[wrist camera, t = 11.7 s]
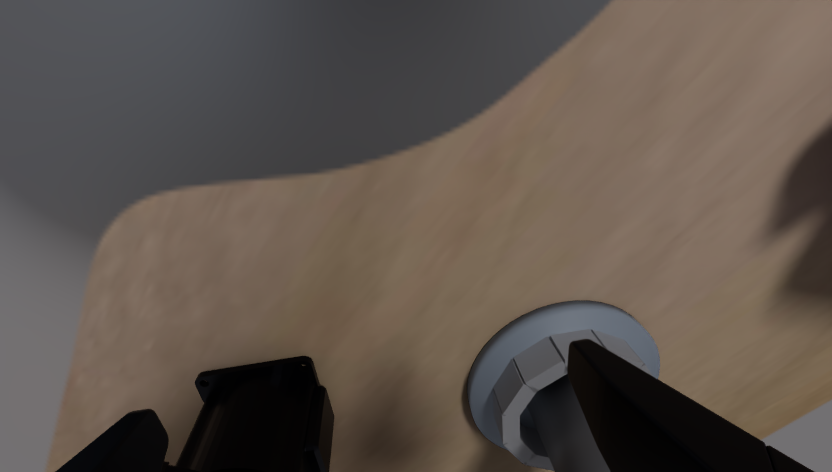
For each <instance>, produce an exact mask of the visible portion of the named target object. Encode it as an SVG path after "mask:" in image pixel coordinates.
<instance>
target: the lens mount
mask: <svg viewBox="0 0 832 472" xmlns="http://www.w3.org/2000/svg"><path fill="white" fill-rule="evenodd" d="M581 339H590V340H592V341H594V342H596V343H598V344H599V345H601V346H603V347H604V348H606V349H608V350H609V351H611V352H613V353H614V354H616V355H618V356H619V357H621V358H623V359H624V360H626V361H628V362H630V363H631V364H633V365H635V366H636V367H638V368H640V369H641V370H643V371H645V372H646V373H648V374H650V375H651V376H653V377H655V378H656V379H658V376H659V370H660V357H659V353H658V349H657V346H656V344H655V342H654V340H653V338H652V337H651V336H650V334H649V333H648V332H647V331H646V330H645V329H644V328H643V327H642V325H641V324H640V323H639V322H638V321H637V320H636V319H634V318H633V317H632V316H631V315H630V314H628V313H627V312H625V311H624V310H622V309H620V308H617V307H615V306H613V305H609V304H606V303H602V302H596V301H567V302H560V303H556V304H551V305H548V306H544V307H541V308H538V309H536V310H533V311H531V312H529V313H527V314H524V315H523V316H521V317H519V318H517V319H515V320H514V321H512V322H511V323H509V324H508V325H506V326H505V327H504V328H502V329H501V330H500V331H499V332H498V333H496V334H495V335H494V336H493V337H492V338H491V339H490V340H489V341H488V343H487V344H486V345H485V346H484V347H483V349H482V350H481V351H480V353H479V354H478V356H477V358H476V360H475V362H474V363H473V365H472V368H471V371H470V374H469V379H468V384H467V394H468V400H469V405H470V408H471V412H472V415H473V418H474V421H475V423H476V425H477V427H478V428H479V430H480V431H481V432H482V433H483V435H484V436H485V437H486V438H488V439H489V440H490V441H491V442H492V443H494V444H496V445H498V446H499V447H501V448H504V449H506V450H509V451H510V452H511V453H512V454H513V455H514V456H515V457H516V458H517V459H518V460H519V461H520V462H521V463H522V464H525V465H528V466H533V467H538V468H543V469H547V470H552V471H554V468H553V466H552V464H551V461H550V459H549V457H548V454H547V452H546V450H545V447H544V445H543V443H542V440H541V438H540V436H539V433H538V431H537V429H536V426H535V424H534V422H533V419H532V417H531V415H530V412H529V410H528V408H527V405H528V403H529V402H530V401H531V399H532V398H533V396H534V395H535V394H536V392H537V391H539V390H540V389H542V388H544V387H545V386H547V385H549V384H551V383H552V382H554V381H556V380H557V379H559V378H561V377H562V376H564V375H566V374H568V372H567V365H568V350H569V344H570V342H572V341H575V340H581Z"/></svg>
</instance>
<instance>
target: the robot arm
mask: <svg viewBox="0 0 832 472" xmlns="http://www.w3.org/2000/svg"><path fill="white" fill-rule="evenodd" d="M302 364H305V365H307V366H302ZM567 372H568V377H569V380H570V383H571V385H572V387H573V390H574V392H575V395H576V397H577V399H578V402H579V404H580V407H581V409H582V412H583V414H584V416H585V419H586V421H587V424H588V426H589V428H590V431H591V433H592V436H593V438H594V440H595V442H596V445H597V447H598V449H599V451H600V453H601V455H602V457H603V459H604V460H605V462H606V464H607V466H608V468H609V470H610V472H814V471H812V470H811V469H809V468H807V467H805V466H804V465H802V464H800V463H798V462H796V461H795V460H793V459H792V458H790V457H788V456H786V455H785V454H783V453H781V452H779V451H778V450H776V449H775V448H773V447H771V446H766V445H765V443H764V442H763V441H761V440H759V439H758V438H756V437H754V436H752V435H751V434H749V433H747V432H746V431H744V430H742V429H741V428H739V427H737V426H736V425H734V424H732V423H731V422H729V421H727V420H726V419H724V418H722V417H720V416H719V415H717V414H715V413H714V412H712V411H710V410H709V409H707V408H705V407H704V406H702V405H700V404H699V403H697V402H695V401H694V400H692V399H690V398H688V397H687V396H685V395H683V394H682V393H680V392H678V391H677V390H675V389H673V388H672V387H670V386H668V385H667V384H665V383H663V382H662V381H660V380H658V379H656V378H655V377H653V376H651V375H650V374H648V373H646V372H645V371H643V370H641V369H640V368H638V367H636V366H635V365H633V364H631V363H630V362H628V361H626V360H624V359H623V358H621V357H619V356H618V355H616V354H614V353H613V352H611V351H609V350H608V349H606V348H604V347H603V346H601V345H599V344H598V343H596V342H594V341H592V340H590V339H581V340H575V341H572V342H570V344H569V350H568V365H567ZM204 380H206V381H208V382H206V381H204ZM195 385H196V387H197V390H198V392H199V394H200V396H201V398H202V400H203V402H204V405H203V407H202V409H201V411H200V414H199V416H198V418H197V420H196V422H195V424H194V427H193V429H192V431H191V433H190V435H189V438H188V440H187V442H186V444H185V446H184V448H183V451H182V453H181V455H180V457H179V459H178V462H177V464H176V466H172V465H168V464H169V462H165V461H164V459H165V455H166V452H167V448H168V435H167V432H166V430H165V429H164V427H163V425H162V423H161V421H160V420H159V418H158V416H157V414H156V413H155V411H153V410H152V409H143V410H137V411H132V412H130V413H128V414H126V415H125V416H124V417H123V418H121V419H120V420H119V421H118V422H116V423H115V424H114V425H113V426H111V427H110V428H109V429H108V430H106V431H105V432H104V433H103V434H101V435H100V436H99V437H98V438H97V439H95V440H94V441H93V442H92V443H90V444H89V445H88V446H87V447H85V448H84V449H83V450H82V451H80V452H79V453H78V454H77V455H75V456H74V457H73V458H72V459H71V460H69V461H68V462H67V463H66V464H64V465H63V466H62V467H61V468H59V469H58V470H57V471H56V472H329V467H330V456H331V446H332V435H333V425H334V414H333V411H332V407H331V404H330V400H329V397H328V393H327V390H326V388H325V387H324V386H320V383H319V380H318V377H317V373H316V370H315V367H314V363H313V361H312V359H311V358H310V357H307V356H299V357H293V358H287V359H280V360H274V361H268V362H262V363H255V364H249V365H243V366H236V367H230V368H224V369H218V370H211V371H205V372H201V373H200V374H199V375H198V377H197V378H196V381H195Z"/></svg>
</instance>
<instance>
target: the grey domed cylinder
mask: <svg viewBox="0 0 832 472" xmlns="http://www.w3.org/2000/svg"><path fill="white" fill-rule="evenodd" d="M527 408H528V410H529V412H530V415H531V417H532V419H533V422H534V424H535V426H536V429H537V431H538V433H539V436H540V438H541V440H542V443H543V445H544V447H545V450H546V452H547V454H548V457H549V459H550V461H551V464H552V466H553V468H554V471H555V472H610V470H609V468H608V466H607V464H606V462H605V460H604V459H603V457H602V455H601V453H600V451H599V449H598V447H597V445H596V442H595V440H594V438H593V436H592V433H591V431H590V428H589V426H588V424H587V421H586V419H585V416H584V414H583V412H582V409H581V407H580V404H579V402H578V399H577V397H576V395H575V392H574V390H573V387H572V385H571V383H570V380H569V377H568V374H566V375H564V376H562V377H561V378H559V379H557V380H556V381H554V382H552V383H551V384H549V385H547V386H545V387H544V388H542V389H540V390H539V391H537V392H536V394H535V395H534V396H533V398H532V399H531V401H530V402H529V403H528V405H527Z"/></svg>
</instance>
